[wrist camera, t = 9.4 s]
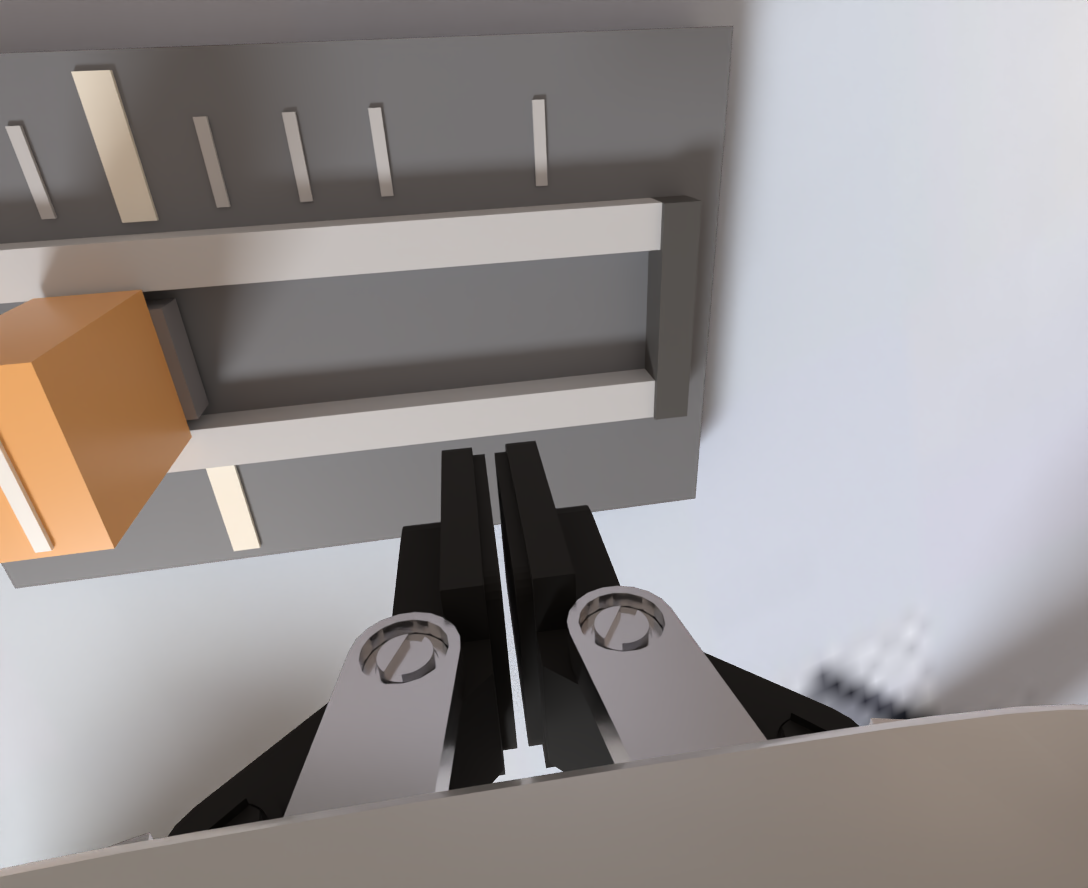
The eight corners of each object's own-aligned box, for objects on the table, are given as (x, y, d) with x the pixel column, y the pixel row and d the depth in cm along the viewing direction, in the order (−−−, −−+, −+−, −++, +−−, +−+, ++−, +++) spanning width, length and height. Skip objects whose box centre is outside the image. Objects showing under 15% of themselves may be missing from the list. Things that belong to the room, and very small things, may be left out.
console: (702, 33, 18) (754, 20, 15) (675, 470, 24) (708, 517, 22) (-197, 68, 15) (-338, 60, 12) (48, 549, 22) (-8, 615, 19)
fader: (169, 278, 16) (46, 363, 11) (213, 419, 18) (128, 549, 13) (41, 289, 16) (-149, 380, 11) (101, 431, 18) (-36, 570, 13)
